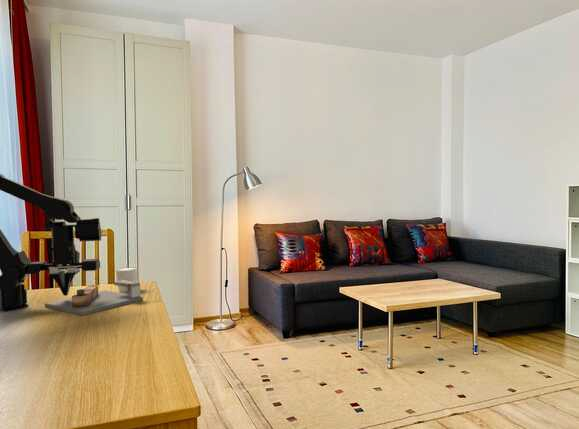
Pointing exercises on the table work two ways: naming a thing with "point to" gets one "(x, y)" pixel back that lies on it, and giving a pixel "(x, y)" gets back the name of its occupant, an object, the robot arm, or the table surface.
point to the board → (94, 303)
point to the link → (84, 296)
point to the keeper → (130, 287)
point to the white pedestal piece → (126, 276)
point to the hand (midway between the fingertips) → (65, 295)
